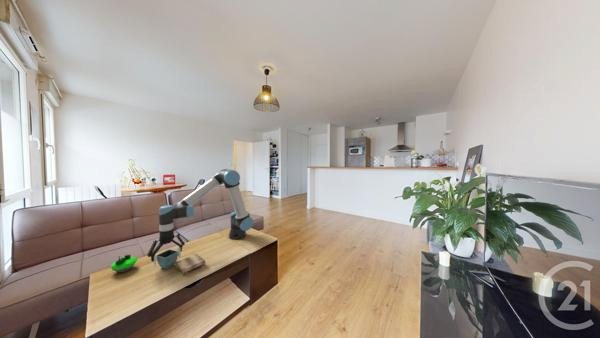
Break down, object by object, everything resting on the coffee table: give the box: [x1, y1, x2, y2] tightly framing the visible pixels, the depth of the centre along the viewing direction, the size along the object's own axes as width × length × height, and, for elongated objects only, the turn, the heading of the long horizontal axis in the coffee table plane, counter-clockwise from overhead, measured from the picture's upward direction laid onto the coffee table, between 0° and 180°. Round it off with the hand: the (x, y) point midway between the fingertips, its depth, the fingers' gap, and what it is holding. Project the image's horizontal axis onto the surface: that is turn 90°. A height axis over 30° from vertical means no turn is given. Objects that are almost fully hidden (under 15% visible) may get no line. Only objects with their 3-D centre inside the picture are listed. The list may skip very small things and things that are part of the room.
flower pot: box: [155, 248, 179, 270], centre depth 119 cm, size 9×9×9 cm
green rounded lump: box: [110, 254, 138, 273], centre depth 115 cm, size 12×12×11 cm
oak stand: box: [174, 253, 206, 276], centre depth 119 cm, size 13×13×4 cm
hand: (167, 260), depth 119 cm, fingers open, 13 cm apart
